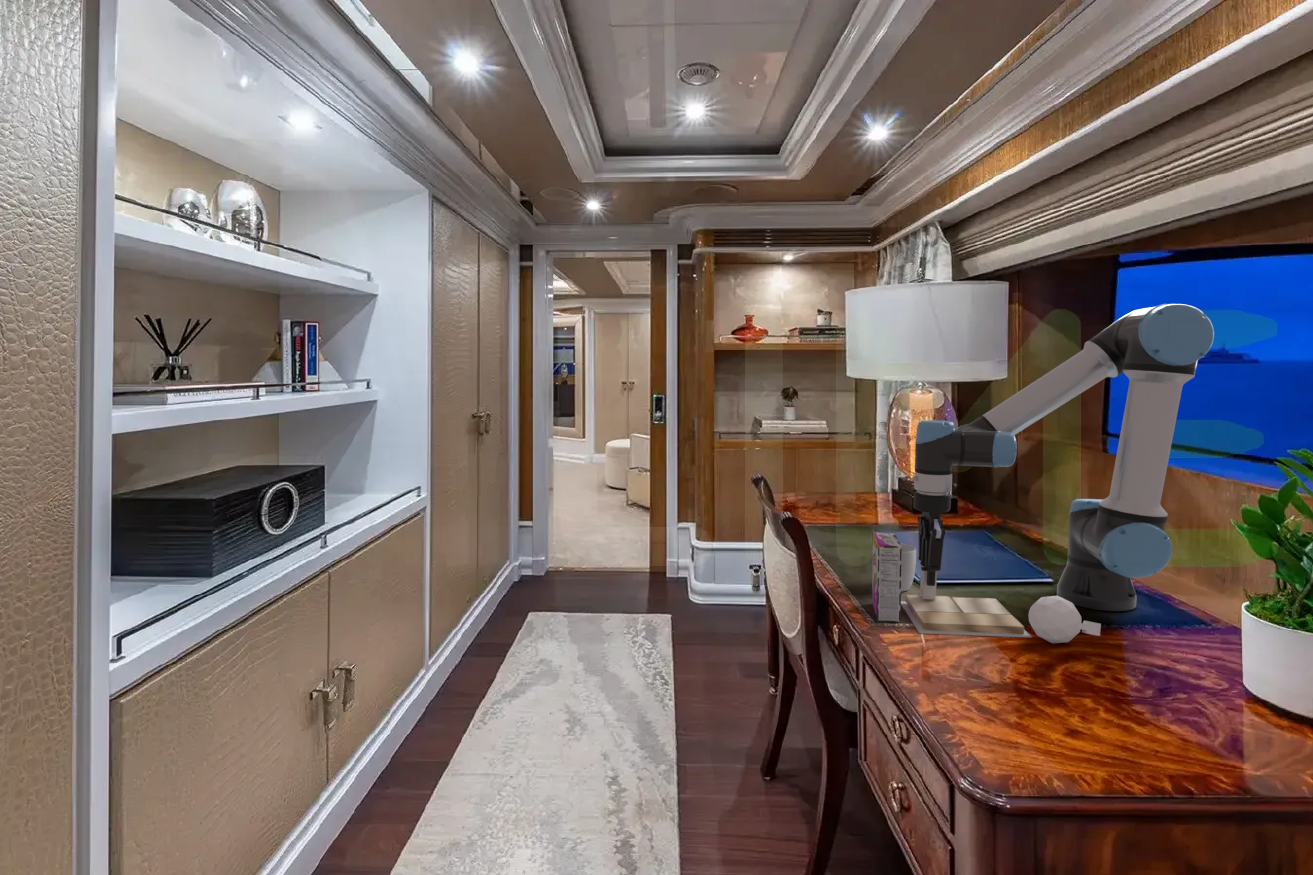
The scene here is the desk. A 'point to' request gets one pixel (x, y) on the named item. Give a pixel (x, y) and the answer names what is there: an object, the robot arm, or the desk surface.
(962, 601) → the panel
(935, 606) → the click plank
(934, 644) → the desk surface
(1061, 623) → the perfume bottle
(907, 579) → the mug
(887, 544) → the candy bar box
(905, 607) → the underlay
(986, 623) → the laid plank
